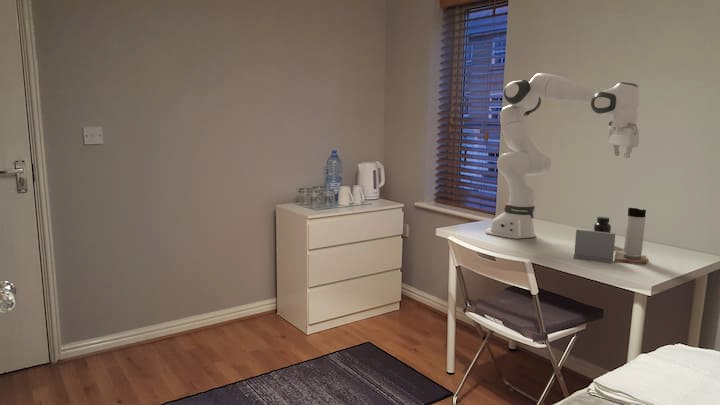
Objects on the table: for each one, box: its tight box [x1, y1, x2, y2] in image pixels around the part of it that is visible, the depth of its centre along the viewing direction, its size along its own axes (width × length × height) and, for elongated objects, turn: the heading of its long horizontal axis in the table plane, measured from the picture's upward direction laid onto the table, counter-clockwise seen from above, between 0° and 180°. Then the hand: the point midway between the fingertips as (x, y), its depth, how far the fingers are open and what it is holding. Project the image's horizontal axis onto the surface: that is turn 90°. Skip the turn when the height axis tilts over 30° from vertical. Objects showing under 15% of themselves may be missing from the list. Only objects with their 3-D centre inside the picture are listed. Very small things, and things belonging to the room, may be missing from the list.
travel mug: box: [623, 207, 647, 259], centre depth 206 cm, size 6×7×20 cm
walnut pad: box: [613, 251, 647, 266], centre depth 208 cm, size 11×11×1 cm
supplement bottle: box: [593, 216, 612, 233], centre depth 231 cm, size 7×7×12 cm
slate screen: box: [573, 228, 616, 264], centre depth 206 cm, size 14×4×11 cm, turn 62°
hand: (621, 156), depth 217 cm, fingers open, 8 cm apart
